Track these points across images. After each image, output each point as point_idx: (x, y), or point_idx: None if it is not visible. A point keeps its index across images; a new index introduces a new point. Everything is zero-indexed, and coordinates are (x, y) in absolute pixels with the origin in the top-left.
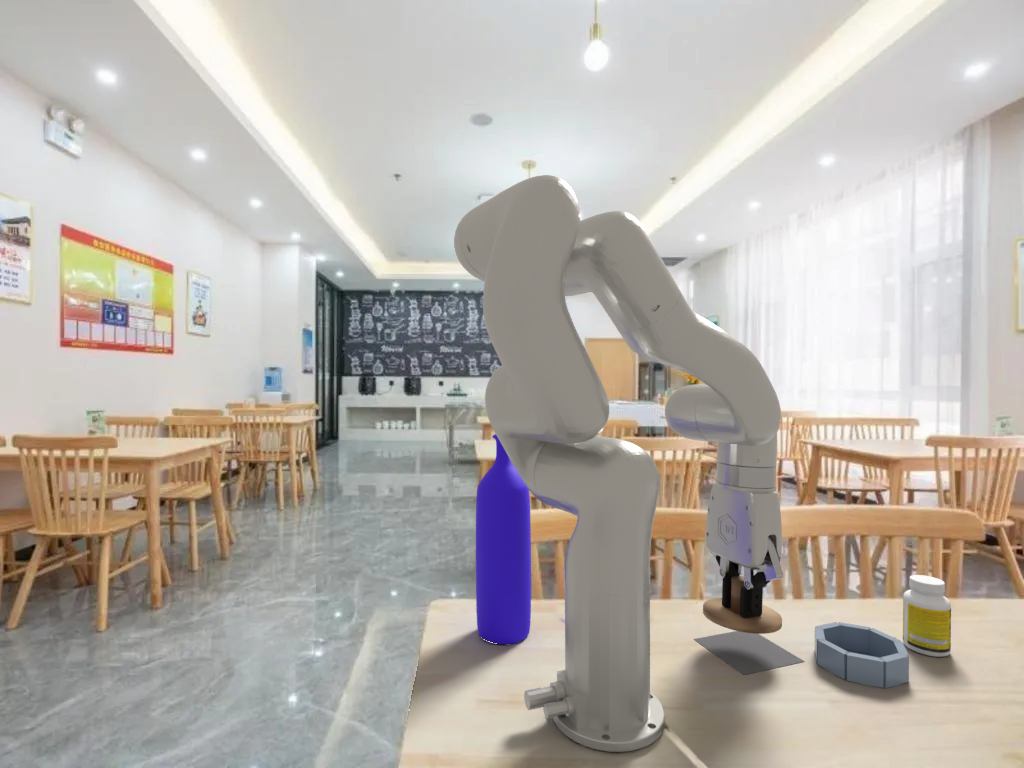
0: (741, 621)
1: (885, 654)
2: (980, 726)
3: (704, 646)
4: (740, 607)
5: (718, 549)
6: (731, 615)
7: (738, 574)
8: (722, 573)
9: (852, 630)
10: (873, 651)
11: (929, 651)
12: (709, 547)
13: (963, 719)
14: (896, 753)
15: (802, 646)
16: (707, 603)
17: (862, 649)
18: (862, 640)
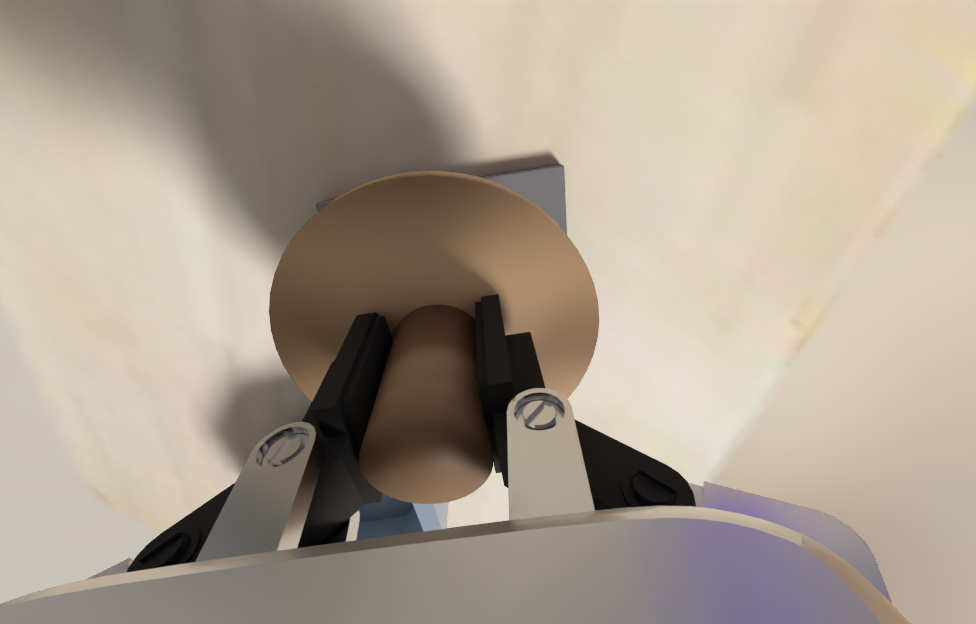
0: (326, 287)
1: (367, 534)
2: (180, 512)
3: (505, 176)
4: (366, 331)
5: (502, 613)
6: (396, 280)
7: (504, 479)
8: (546, 408)
9: None
10: (394, 524)
11: None
12: (713, 552)
13: (198, 506)
14: (41, 351)
15: None
16: (549, 242)
17: (410, 514)
18: (407, 533)
